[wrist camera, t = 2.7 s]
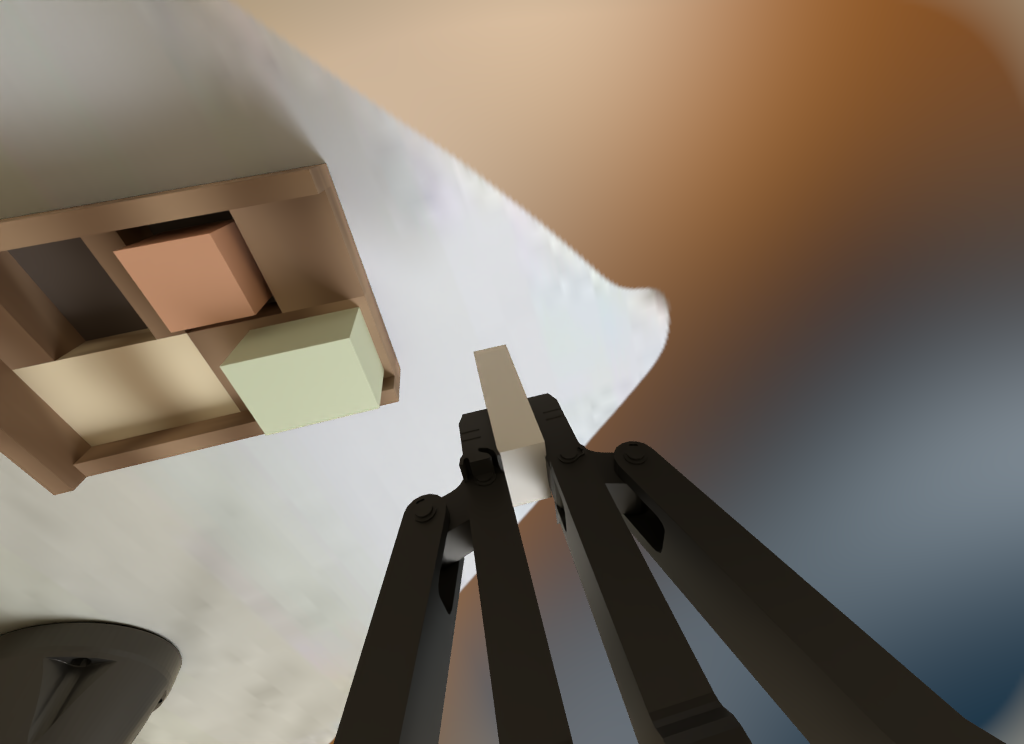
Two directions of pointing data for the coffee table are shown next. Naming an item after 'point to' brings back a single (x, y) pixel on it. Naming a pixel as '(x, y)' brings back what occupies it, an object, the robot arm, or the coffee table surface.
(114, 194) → the coffee table surface
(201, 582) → the coffee table surface
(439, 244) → the coffee table surface
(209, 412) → the wooden tray
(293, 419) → the sage block
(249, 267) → the rust block
